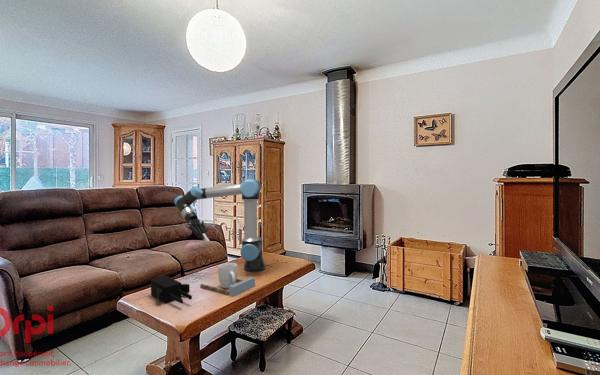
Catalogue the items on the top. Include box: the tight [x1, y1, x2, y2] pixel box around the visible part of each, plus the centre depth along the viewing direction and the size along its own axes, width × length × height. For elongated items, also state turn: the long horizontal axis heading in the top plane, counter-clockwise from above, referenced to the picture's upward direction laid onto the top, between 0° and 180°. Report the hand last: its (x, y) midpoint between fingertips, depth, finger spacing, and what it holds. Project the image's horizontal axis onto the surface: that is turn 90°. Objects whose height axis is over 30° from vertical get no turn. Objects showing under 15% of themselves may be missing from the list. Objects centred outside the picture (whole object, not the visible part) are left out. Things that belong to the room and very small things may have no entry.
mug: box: [217, 262, 238, 290], centre depth 176 cm, size 15×11×13 cm
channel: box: [199, 278, 244, 296], centre depth 178 cm, size 23×19×2 cm
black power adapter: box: [150, 275, 193, 305], centre depth 159 cm, size 16×9×30 cm
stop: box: [228, 276, 256, 297], centre depth 171 cm, size 3×18×5 cm, turn 148°
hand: (207, 242), depth 187 cm, fingers closed
